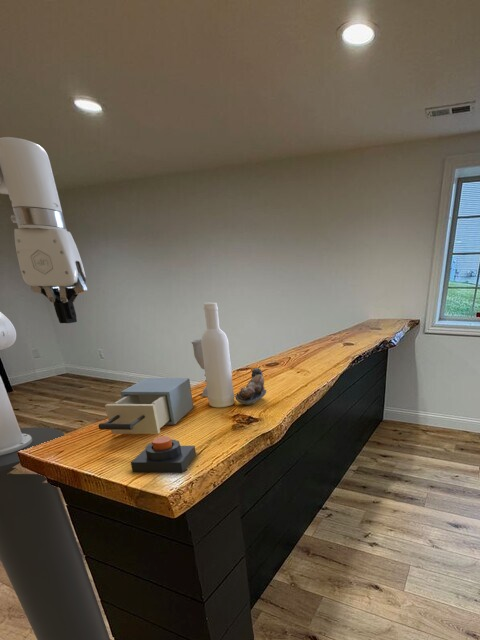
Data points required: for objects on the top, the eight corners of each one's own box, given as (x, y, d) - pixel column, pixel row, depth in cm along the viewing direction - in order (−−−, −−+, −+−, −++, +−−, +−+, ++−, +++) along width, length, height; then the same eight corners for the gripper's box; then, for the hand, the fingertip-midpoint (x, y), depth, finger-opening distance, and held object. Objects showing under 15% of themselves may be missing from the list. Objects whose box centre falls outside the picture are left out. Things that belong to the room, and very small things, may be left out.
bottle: (230, 398, 115) (220, 301, 103) (238, 405, 109) (228, 303, 97) (206, 402, 111) (192, 302, 99) (212, 409, 105) (199, 303, 93)
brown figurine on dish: (251, 408, 106) (248, 376, 102) (231, 406, 108) (228, 374, 104) (270, 397, 116) (268, 368, 112) (251, 395, 118) (249, 366, 114)
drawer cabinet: (174, 424, 93) (169, 392, 89) (127, 424, 93) (120, 391, 89) (193, 407, 106) (189, 378, 103) (152, 406, 106) (146, 377, 103)
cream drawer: (144, 446, 78) (137, 416, 76) (93, 446, 78) (85, 415, 75) (179, 415, 97) (175, 389, 95) (138, 414, 97) (133, 389, 94)
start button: (150, 451, 70) (148, 443, 69) (158, 443, 73) (156, 436, 73) (168, 451, 70) (166, 443, 69) (175, 443, 73) (173, 436, 73)
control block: (132, 472, 69) (128, 454, 68) (150, 454, 77) (147, 437, 75) (182, 472, 69) (179, 454, 68) (196, 454, 77) (193, 438, 75)
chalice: (220, 391, 123) (214, 339, 116) (220, 396, 117) (213, 342, 110) (199, 392, 121) (191, 339, 114) (197, 397, 115) (189, 342, 108)
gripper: (-16, 218, 63) (18, 324, 70) (67, 219, 63) (93, 324, 70) (18, 225, 70) (46, 320, 77) (92, 226, 70) (113, 321, 77)
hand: (68, 322), depth 73 cm, fingers closed
